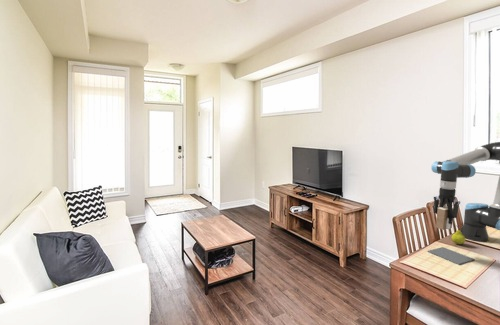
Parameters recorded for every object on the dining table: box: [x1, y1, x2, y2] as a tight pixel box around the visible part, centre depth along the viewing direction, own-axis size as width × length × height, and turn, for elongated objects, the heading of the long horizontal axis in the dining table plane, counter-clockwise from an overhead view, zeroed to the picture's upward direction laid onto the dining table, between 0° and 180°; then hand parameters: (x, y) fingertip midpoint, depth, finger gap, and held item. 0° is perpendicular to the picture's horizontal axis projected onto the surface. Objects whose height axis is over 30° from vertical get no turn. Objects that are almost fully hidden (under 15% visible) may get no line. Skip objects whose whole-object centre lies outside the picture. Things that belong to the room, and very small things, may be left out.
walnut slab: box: [435, 205, 453, 231], centre depth 158 cm, size 8×4×12 cm, turn 113°
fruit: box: [451, 224, 467, 245], centre depth 171 cm, size 7×7×12 cm
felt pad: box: [427, 246, 475, 266], centre depth 155 cm, size 14×17×1 cm
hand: (443, 227), depth 158 cm, fingers closed on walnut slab, 4 cm apart
